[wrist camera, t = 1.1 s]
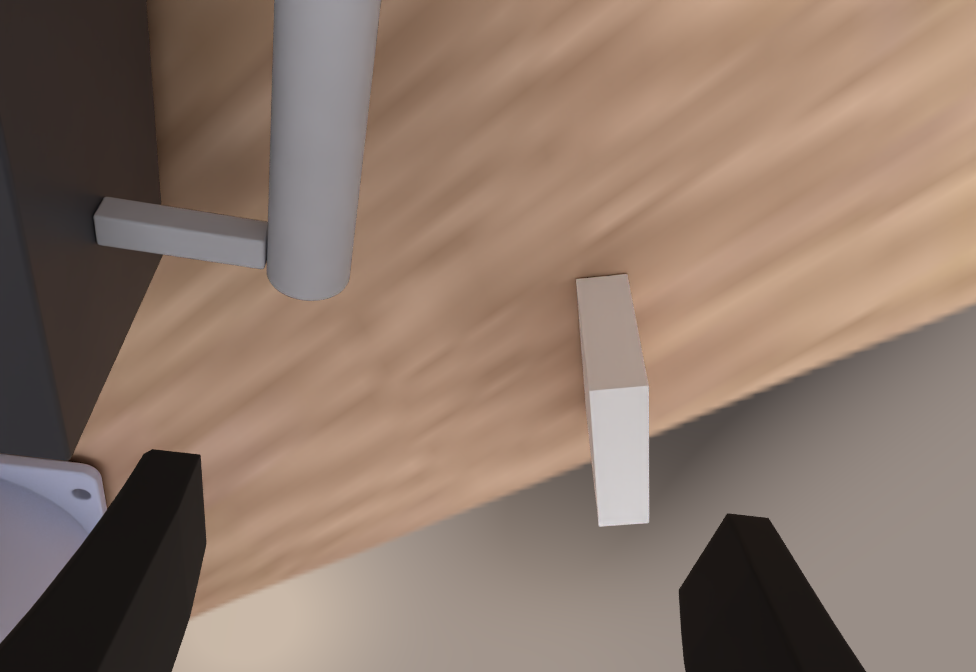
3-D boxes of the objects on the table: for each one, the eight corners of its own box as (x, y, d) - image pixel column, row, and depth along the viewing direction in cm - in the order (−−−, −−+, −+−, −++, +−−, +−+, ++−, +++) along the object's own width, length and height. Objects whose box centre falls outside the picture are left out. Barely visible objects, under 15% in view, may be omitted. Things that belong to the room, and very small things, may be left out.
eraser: (628, 272, 20) (649, 386, 17) (631, 410, 23) (649, 523, 21) (575, 277, 20) (587, 391, 18) (585, 413, 23) (597, 527, 21)
